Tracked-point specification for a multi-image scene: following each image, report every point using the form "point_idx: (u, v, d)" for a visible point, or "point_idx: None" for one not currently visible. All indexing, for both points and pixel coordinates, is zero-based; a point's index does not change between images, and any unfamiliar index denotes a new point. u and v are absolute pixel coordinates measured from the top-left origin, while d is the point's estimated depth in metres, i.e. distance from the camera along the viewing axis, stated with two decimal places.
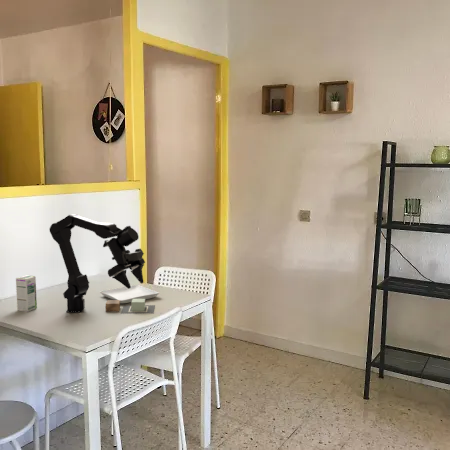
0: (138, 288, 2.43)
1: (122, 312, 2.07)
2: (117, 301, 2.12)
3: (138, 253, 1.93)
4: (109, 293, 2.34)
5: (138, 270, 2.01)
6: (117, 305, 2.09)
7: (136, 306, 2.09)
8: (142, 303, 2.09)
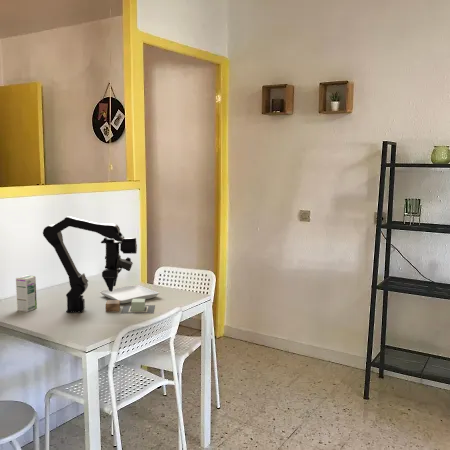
0: (138, 288, 2.43)
1: (122, 312, 2.07)
2: (117, 301, 2.12)
3: None
4: (109, 293, 2.34)
5: None
6: (117, 305, 2.09)
7: (136, 306, 2.09)
8: (142, 303, 2.09)
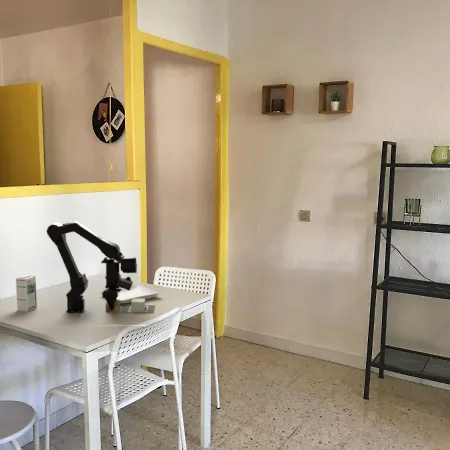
0: (138, 288, 2.43)
1: (122, 312, 2.07)
2: (117, 301, 2.12)
3: None
4: None
5: None
6: (117, 305, 2.09)
7: (136, 306, 2.09)
8: (142, 303, 2.09)
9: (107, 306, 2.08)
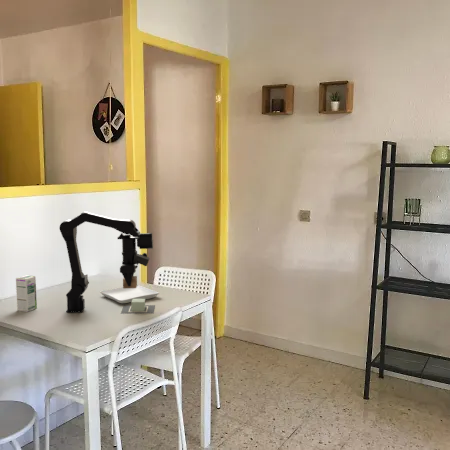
0: (138, 288, 2.43)
1: (122, 312, 2.07)
2: (134, 277, 2.11)
3: (148, 260, 2.10)
4: (109, 293, 2.34)
5: None
6: (134, 280, 2.08)
7: (136, 306, 2.09)
8: (142, 303, 2.09)
9: (124, 282, 2.08)
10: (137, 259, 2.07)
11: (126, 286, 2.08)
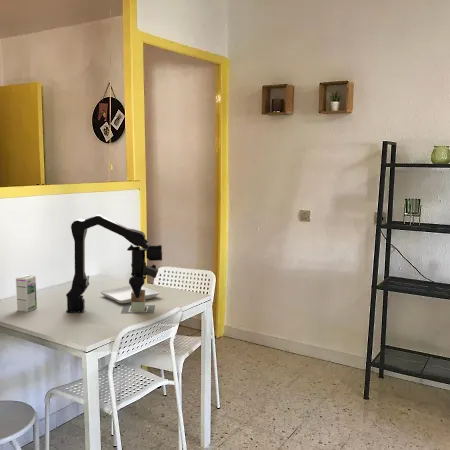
0: None
1: (122, 312, 2.07)
2: (142, 291, 2.12)
3: (157, 272, 2.11)
4: (109, 293, 2.34)
5: None
6: (143, 295, 2.09)
7: (137, 306, 2.09)
8: (142, 303, 2.09)
9: (133, 296, 2.09)
10: (146, 271, 2.08)
11: (134, 300, 2.09)
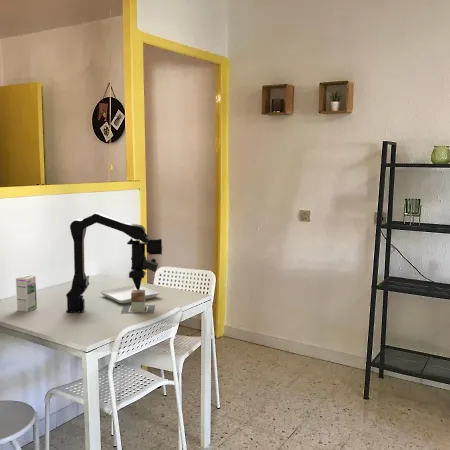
0: None
1: (122, 312, 2.07)
2: (142, 291, 2.12)
3: (157, 266, 2.10)
4: (109, 293, 2.34)
5: None
6: (143, 295, 2.09)
7: (137, 306, 2.09)
8: (142, 303, 2.09)
9: (133, 296, 2.09)
10: (146, 265, 2.08)
11: (134, 300, 2.09)
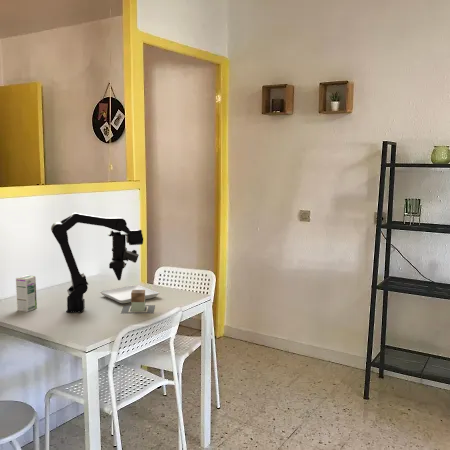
0: (138, 288, 2.43)
1: (122, 312, 2.07)
2: (142, 291, 2.12)
3: None
4: (109, 293, 2.34)
5: None
6: (143, 295, 2.09)
7: (137, 306, 2.09)
8: (142, 303, 2.09)
9: (133, 296, 2.09)
10: (126, 256, 2.12)
11: (134, 300, 2.09)
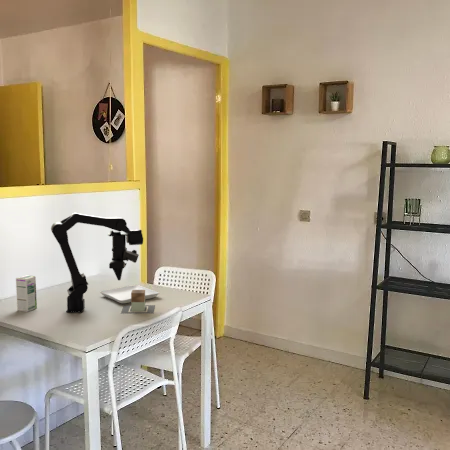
0: (138, 288, 2.43)
1: (122, 312, 2.07)
2: (142, 291, 2.12)
3: None
4: (109, 293, 2.34)
5: None
6: (143, 295, 2.09)
7: (137, 306, 2.09)
8: (142, 303, 2.09)
9: (133, 296, 2.09)
10: (126, 256, 2.12)
11: (134, 300, 2.09)
